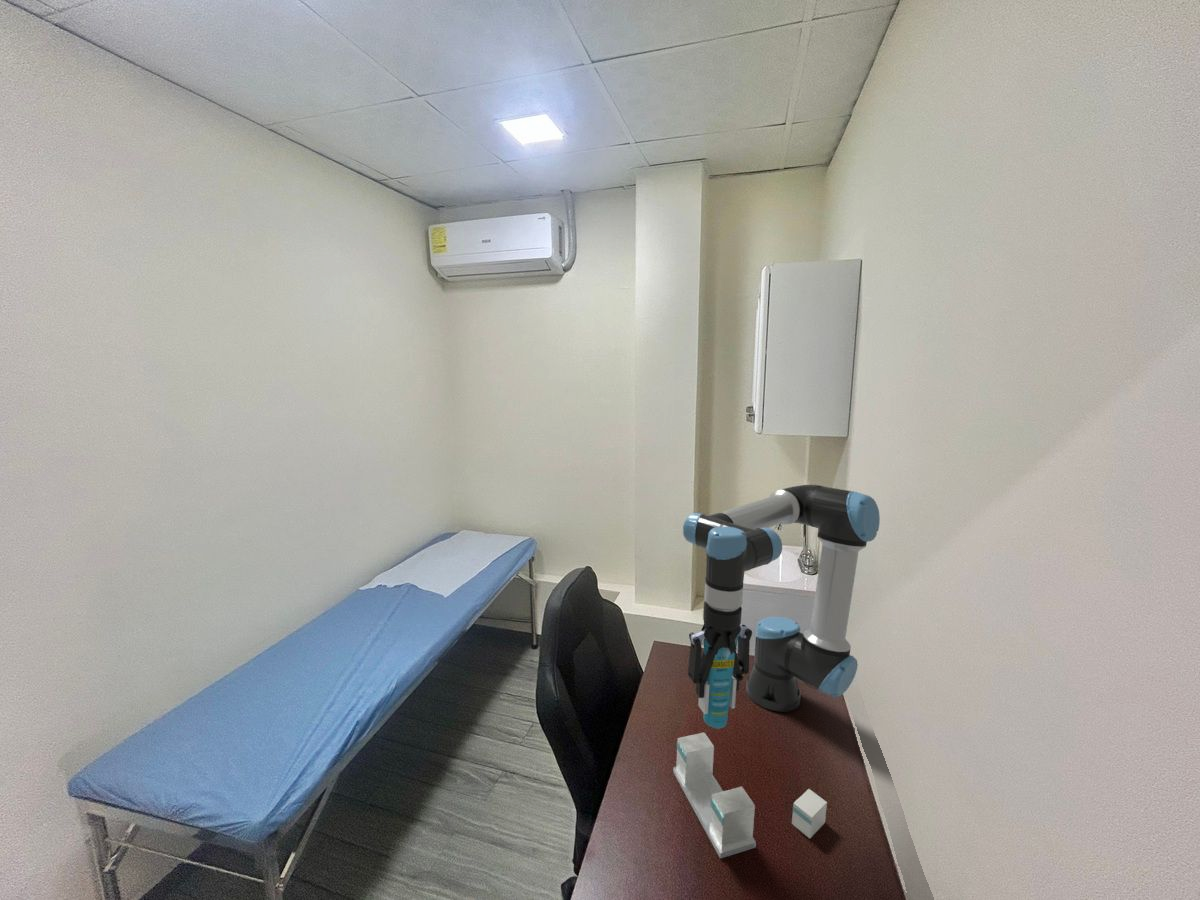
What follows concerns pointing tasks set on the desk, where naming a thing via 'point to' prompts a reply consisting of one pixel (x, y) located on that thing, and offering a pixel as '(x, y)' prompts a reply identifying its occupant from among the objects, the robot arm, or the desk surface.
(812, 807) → the block
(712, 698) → the tube
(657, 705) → the desk surface
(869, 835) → the desk surface
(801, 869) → the desk surface
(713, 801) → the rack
